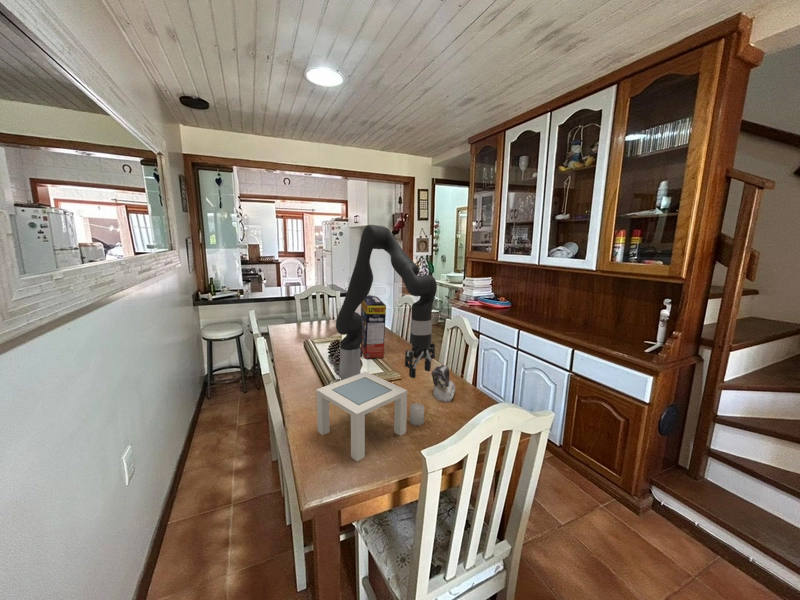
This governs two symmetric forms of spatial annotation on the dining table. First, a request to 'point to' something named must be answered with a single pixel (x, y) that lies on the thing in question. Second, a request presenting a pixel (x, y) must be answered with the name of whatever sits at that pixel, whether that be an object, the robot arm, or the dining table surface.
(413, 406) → the white rounded cylinder
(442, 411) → the dining table surface
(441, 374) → the stone
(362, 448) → the stand
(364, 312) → the cereal box
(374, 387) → the trapdoor
